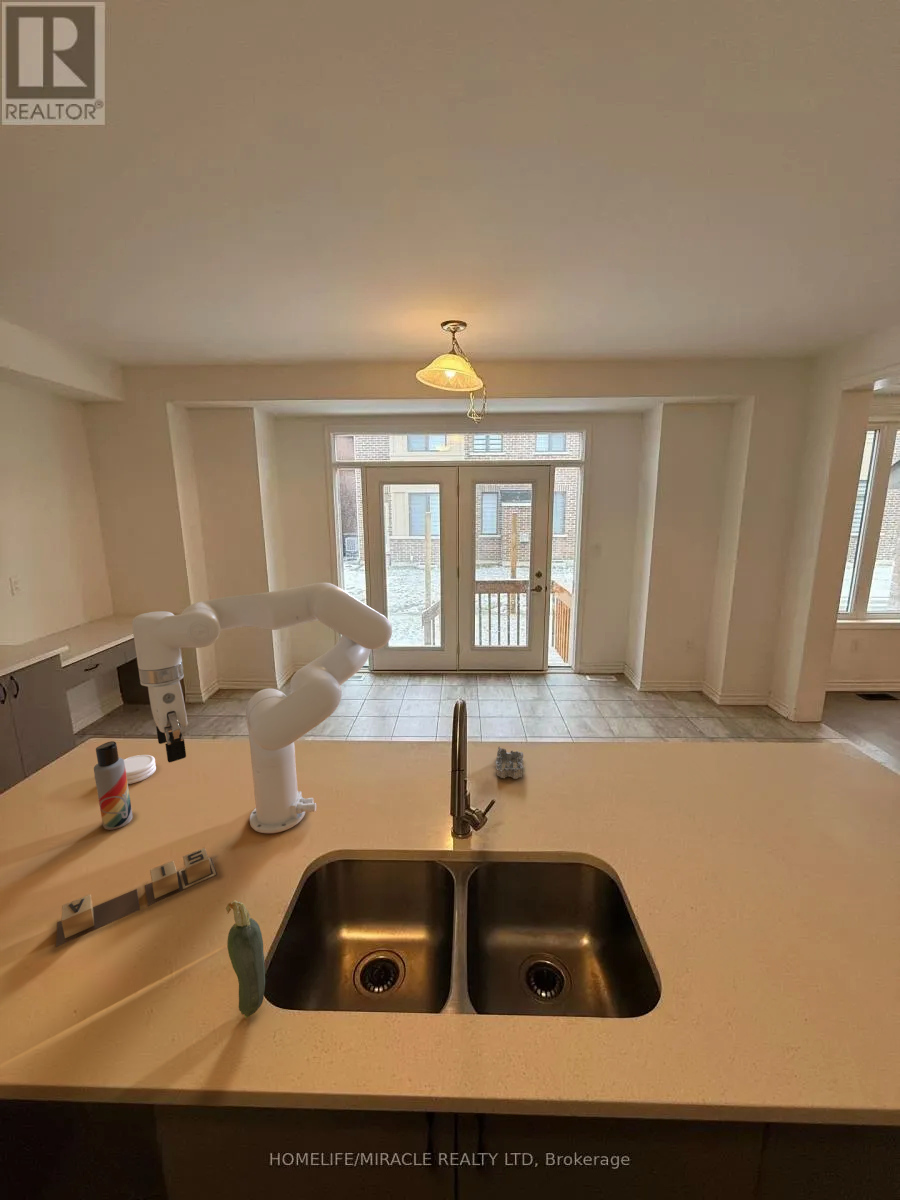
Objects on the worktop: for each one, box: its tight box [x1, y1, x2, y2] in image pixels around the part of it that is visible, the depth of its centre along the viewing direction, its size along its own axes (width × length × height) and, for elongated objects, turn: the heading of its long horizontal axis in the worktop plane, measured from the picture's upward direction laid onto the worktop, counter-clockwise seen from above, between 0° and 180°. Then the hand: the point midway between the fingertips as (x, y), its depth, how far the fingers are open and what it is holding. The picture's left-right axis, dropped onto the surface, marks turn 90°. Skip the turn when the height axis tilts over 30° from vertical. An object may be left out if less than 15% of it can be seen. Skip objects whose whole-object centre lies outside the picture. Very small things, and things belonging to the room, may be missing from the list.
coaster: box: [123, 754, 157, 785], centre depth 127 cm, size 10×10×4 cm
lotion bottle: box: [93, 740, 133, 831], centre depth 106 cm, size 6×6×20 cm
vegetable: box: [225, 899, 266, 1020], centre depth 65 cm, size 4×4×20 cm
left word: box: [55, 888, 141, 948], centre depth 83 cm, size 12×6×4 cm, turn 128°
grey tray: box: [144, 857, 219, 907], centre depth 91 cm, size 12×6×4 cm, turn 128°
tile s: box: [182, 847, 211, 884], centre depth 92 cm, size 4×4×4 cm
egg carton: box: [495, 746, 524, 780], centre depth 130 cm, size 11×8×4 cm
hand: (172, 750), depth 97 cm, fingers open, 9 cm apart
